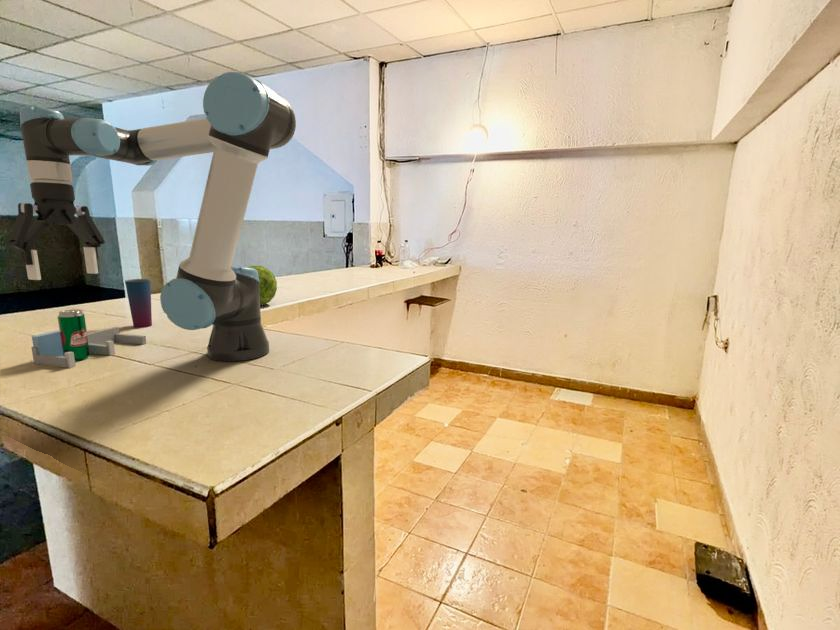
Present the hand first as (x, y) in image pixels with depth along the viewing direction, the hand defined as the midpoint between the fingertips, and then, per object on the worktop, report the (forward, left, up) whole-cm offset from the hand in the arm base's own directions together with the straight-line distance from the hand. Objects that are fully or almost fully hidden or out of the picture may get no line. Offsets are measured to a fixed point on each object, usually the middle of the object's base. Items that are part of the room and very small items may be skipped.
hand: (65, 276), depth 101 cm
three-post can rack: (0, -5, -20) cm, 21 cm away
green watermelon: (+4, -79, -21) cm, 82 cm away
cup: (+13, -32, -21) cm, 40 cm away
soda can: (0, 0, -21) cm, 21 cm away
